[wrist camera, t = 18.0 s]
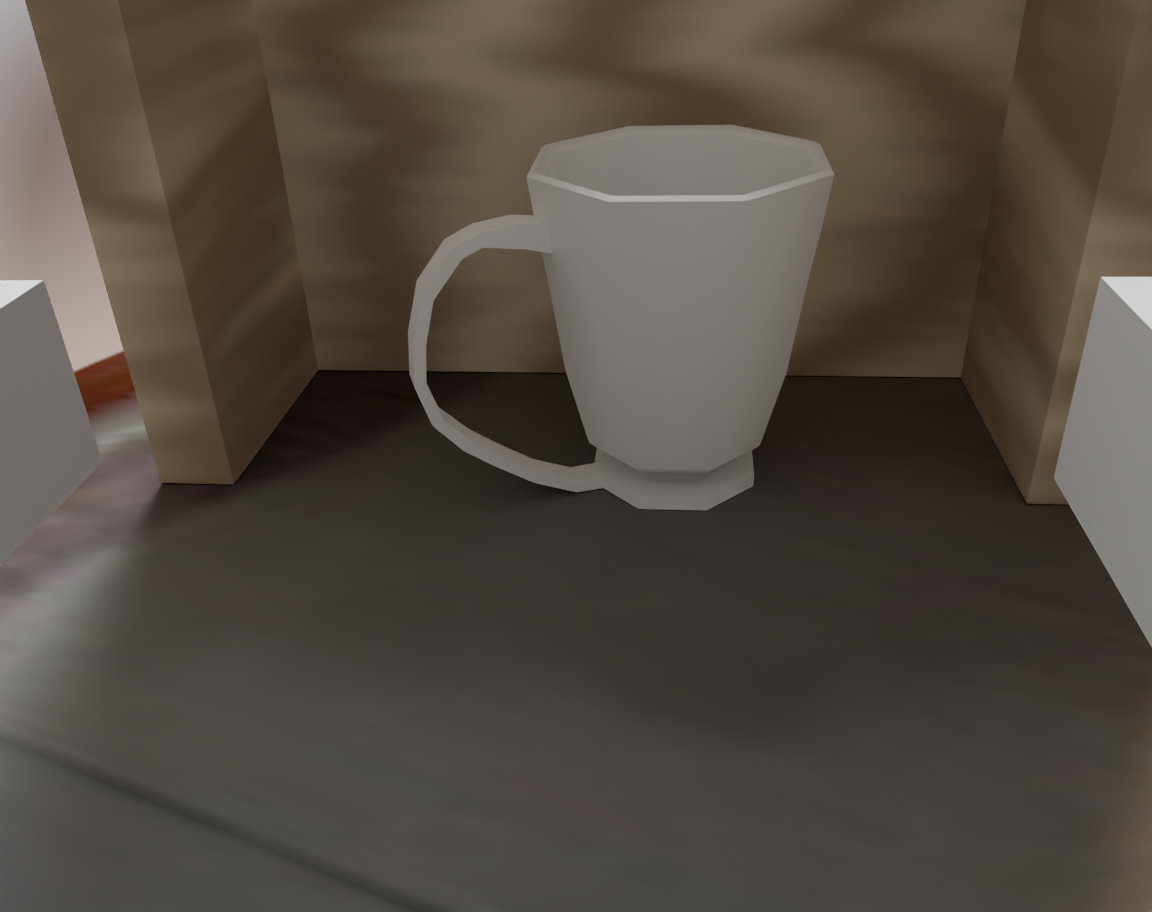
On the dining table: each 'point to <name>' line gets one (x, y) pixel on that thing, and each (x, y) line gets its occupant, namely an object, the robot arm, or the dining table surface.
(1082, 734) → the dining table surface
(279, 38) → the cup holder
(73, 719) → the dining table surface
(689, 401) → the cup
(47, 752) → the dining table surface
